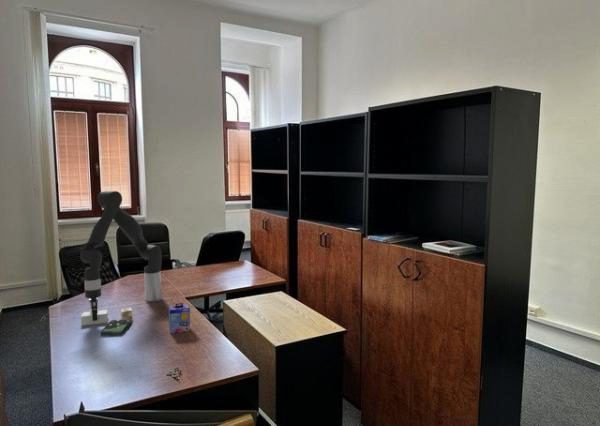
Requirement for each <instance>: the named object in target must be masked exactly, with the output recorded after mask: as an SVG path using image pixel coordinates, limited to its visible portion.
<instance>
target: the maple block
mask: <svg viewBox="0 0 600 426" xmlns="http://www.w3.org/2000/svg"><path fill="white" fill-rule="evenodd" d="M120 316H121V317H120V318H121V319H120V320H131V319H132V320H133V309H132V308H131V307H125V308H121V309H120Z"/></svg>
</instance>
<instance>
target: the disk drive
mask: <svg viewBox="0 0 600 426" xmlns="http://www.w3.org/2000/svg"><path fill="white" fill-rule="evenodd" d="M132 324H133V319H132V320H122V319H119V320H117V319H111V320H110V321H108V322H107V324H106V325H105V326H104V327H103V329H101V330H100V336H101V337H102V336H103V337H104V336H108V337H109V336H110V337H111V336H114V337H115V336H123V335H124V334H125V332H126V331H127V330H128V329H129V328H130V326H131V325H132Z"/></svg>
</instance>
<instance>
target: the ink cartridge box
mask: <svg viewBox="0 0 600 426" xmlns="http://www.w3.org/2000/svg"><path fill="white" fill-rule="evenodd" d="M190 314H191V308H190V306H189V304H184V303H183V302H180V303H175V305H172V306H168V324H169V325H168V328H169V333H171V334H176V333H175V332H178V333H184V332H183V331H185V332H190V331H191V318H190V317H191V316H190ZM189 330H190V331H189Z"/></svg>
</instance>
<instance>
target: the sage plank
mask: <svg viewBox="0 0 600 426" xmlns="http://www.w3.org/2000/svg"><path fill="white" fill-rule="evenodd" d="M97 312H98V313H97V321H93V319H92V312H91V311H85V312H82V313H81V315H80V321H81V326H90V325H97V324H99V325H100V324H106V323H107V324H108V323H109V309H103V310H97Z"/></svg>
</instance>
